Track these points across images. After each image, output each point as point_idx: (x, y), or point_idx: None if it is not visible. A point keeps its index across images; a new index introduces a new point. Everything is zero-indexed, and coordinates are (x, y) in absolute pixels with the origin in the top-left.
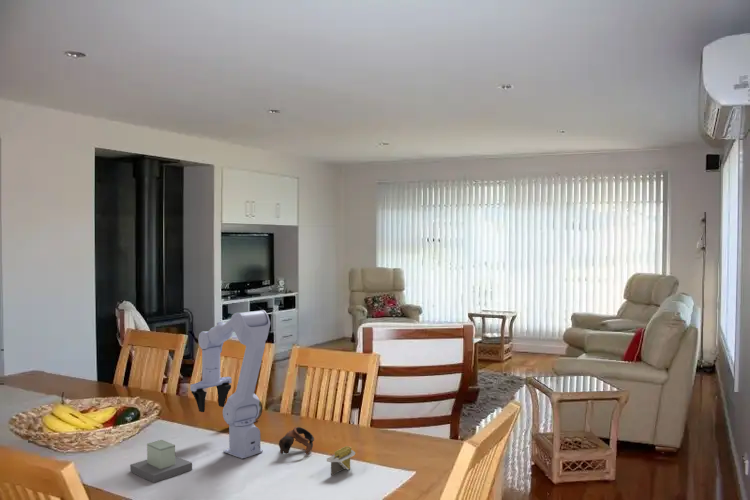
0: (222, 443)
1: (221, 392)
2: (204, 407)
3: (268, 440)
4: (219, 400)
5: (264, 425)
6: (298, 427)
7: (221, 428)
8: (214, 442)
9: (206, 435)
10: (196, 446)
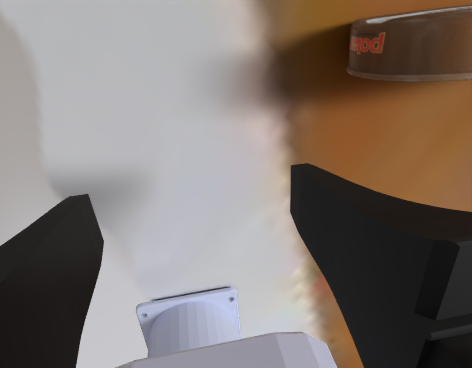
0: (184, 223)
1: (355, 288)
2: (93, 278)
3: (327, 286)
4: (311, 200)
5: (461, 132)
6: None
7: (312, 10)
8: (162, 192)
9: (180, 67)
10: (65, 189)
